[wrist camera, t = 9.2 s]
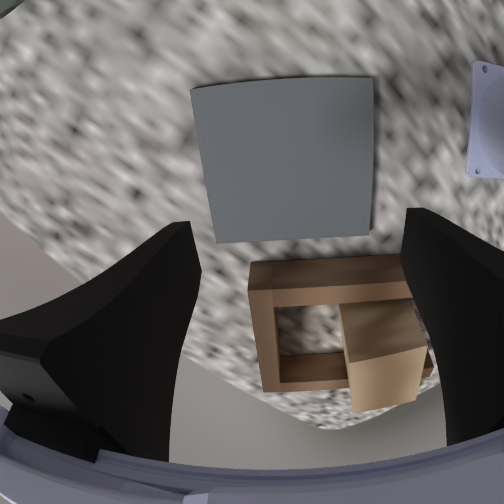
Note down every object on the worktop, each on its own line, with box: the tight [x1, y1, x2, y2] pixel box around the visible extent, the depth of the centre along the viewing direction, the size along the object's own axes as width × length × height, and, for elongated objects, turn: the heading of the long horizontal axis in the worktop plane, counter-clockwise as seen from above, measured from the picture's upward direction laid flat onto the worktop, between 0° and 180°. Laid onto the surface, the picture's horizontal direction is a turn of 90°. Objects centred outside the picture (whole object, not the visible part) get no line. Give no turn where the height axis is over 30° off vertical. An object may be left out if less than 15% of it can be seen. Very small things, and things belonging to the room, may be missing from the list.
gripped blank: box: [338, 298, 428, 414], centre depth 22 cm, size 5×7×7 cm
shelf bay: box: [247, 254, 434, 392], centre depth 24 cm, size 16×12×3 cm
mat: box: [190, 77, 374, 244], centre depth 18 cm, size 10×10×1 cm
